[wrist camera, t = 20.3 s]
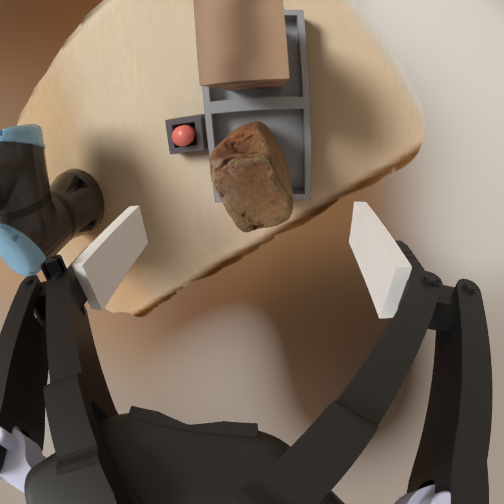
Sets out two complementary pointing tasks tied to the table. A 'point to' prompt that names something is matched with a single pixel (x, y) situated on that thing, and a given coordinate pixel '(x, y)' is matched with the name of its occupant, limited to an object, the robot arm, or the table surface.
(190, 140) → the button
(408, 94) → the table surface
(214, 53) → the seated billet
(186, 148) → the button housing
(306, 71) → the gray divided tray
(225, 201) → the block
